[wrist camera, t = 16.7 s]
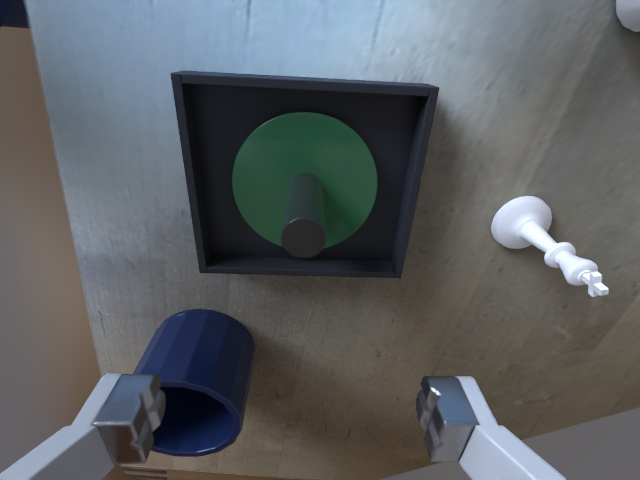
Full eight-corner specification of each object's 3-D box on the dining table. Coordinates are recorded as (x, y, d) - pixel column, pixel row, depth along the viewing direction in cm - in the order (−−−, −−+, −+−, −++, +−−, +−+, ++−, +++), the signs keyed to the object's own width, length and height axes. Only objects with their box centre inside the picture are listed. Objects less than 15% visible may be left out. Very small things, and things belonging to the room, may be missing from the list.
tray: (207, 256, 31) (199, 273, 29) (183, 70, 24) (170, 72, 21) (394, 262, 32) (400, 278, 30) (427, 83, 24) (439, 87, 22)
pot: (164, 378, 39) (130, 456, 31) (146, 307, 34) (101, 380, 26) (256, 380, 39) (244, 456, 32) (252, 310, 34) (237, 382, 27)
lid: (239, 242, 30) (213, 312, 22) (229, 105, 24) (189, 133, 16) (366, 246, 30) (387, 316, 22) (384, 113, 25) (420, 143, 17)
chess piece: (548, 188, 29) (653, 249, 20) (547, 237, 31) (640, 311, 22) (489, 205, 29) (565, 271, 20) (492, 251, 32) (561, 329, 23)
